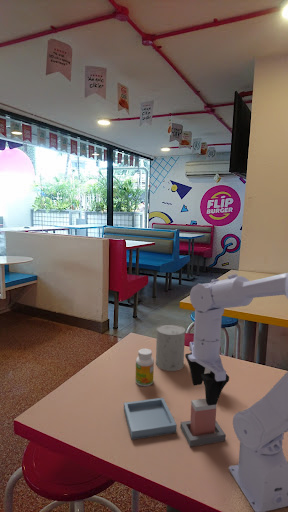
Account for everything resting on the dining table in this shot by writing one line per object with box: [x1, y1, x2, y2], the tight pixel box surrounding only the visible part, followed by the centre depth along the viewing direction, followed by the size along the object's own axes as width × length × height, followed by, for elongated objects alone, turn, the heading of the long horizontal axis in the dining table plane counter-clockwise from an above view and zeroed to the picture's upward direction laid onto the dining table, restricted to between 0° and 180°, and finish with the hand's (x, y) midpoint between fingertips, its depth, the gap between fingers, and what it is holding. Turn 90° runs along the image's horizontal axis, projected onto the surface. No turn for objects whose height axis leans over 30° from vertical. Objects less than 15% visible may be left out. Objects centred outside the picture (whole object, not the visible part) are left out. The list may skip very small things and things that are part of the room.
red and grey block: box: [189, 398, 217, 436], centre depth 69 cm, size 2×5×8 cm, turn 103°
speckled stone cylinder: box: [155, 323, 186, 372], centre depth 101 cm, size 10×10×12 cm
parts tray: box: [123, 397, 178, 441], centre depth 73 cm, size 11×11×2 cm
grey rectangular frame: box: [179, 420, 226, 447], centre depth 69 cm, size 6×8×2 cm
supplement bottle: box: [135, 348, 155, 387], centre depth 90 cm, size 5×5×10 cm
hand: (204, 393), depth 68 cm, fingers open, 7 cm apart
